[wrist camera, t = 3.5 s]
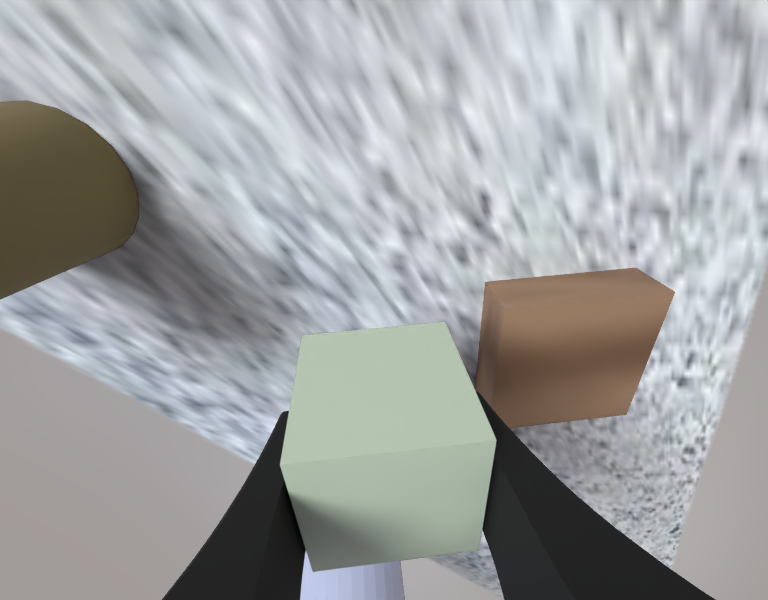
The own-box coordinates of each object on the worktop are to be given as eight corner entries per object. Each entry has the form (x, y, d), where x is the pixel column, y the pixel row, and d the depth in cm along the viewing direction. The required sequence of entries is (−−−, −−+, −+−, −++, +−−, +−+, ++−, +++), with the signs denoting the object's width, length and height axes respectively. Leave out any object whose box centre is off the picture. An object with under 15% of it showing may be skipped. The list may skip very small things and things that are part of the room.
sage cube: (441, 420, 14) (478, 549, 10) (321, 433, 14) (312, 572, 10) (445, 321, 12) (496, 440, 8) (302, 335, 11) (280, 465, 7)
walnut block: (595, 378, 23) (626, 414, 21) (472, 391, 23) (488, 430, 20) (630, 264, 19) (675, 291, 17) (482, 278, 19) (504, 308, 16)
